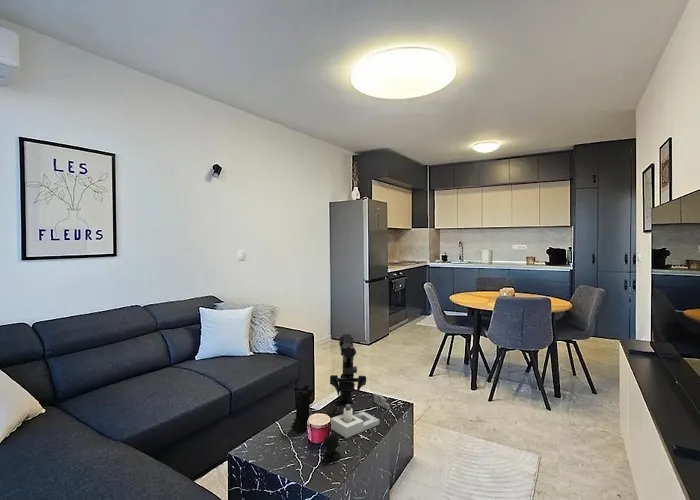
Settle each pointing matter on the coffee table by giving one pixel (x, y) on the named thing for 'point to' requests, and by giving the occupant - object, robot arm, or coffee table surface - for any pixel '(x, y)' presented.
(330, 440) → the webcam
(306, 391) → the chess piece
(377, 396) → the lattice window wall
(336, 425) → the jack housing
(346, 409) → the plug
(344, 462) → the coffee table surface
